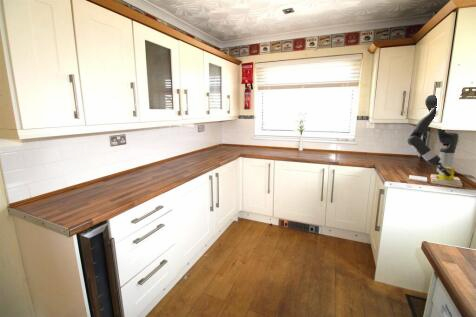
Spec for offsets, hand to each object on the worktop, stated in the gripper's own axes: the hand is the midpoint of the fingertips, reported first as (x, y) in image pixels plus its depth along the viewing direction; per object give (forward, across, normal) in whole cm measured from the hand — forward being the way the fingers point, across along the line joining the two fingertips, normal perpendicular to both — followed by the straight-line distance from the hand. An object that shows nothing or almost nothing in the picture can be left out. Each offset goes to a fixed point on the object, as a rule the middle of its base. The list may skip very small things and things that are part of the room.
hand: (448, 174), depth 170 cm
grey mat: (-8, -3, +16) cm, 19 cm away
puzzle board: (+3, 0, +5) cm, 6 cm away
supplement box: (+3, 0, +5) cm, 6 cm away
